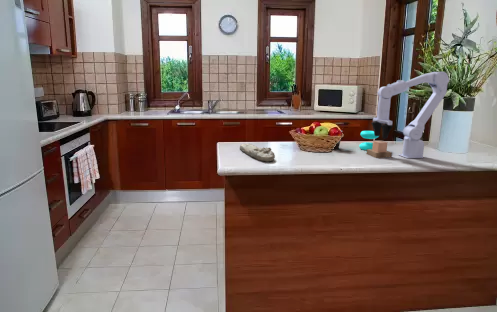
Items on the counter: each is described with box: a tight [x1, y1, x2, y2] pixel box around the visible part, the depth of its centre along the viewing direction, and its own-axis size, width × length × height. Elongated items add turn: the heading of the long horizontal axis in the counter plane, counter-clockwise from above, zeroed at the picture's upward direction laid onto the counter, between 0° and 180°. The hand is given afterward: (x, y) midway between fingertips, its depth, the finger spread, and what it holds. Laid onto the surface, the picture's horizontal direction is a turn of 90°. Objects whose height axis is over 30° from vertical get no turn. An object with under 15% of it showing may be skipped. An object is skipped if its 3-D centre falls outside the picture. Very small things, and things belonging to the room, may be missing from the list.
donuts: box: [358, 130, 380, 151], centre depth 198 cm, size 10×10×10 cm
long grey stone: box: [239, 143, 276, 162], centre depth 180 cm, size 35×5×10 cm
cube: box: [372, 140, 389, 152], centre depth 182 cm, size 5×5×5 cm
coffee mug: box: [333, 130, 344, 150], centre depth 198 cm, size 12×9×10 cm
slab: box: [365, 149, 393, 159], centre depth 183 cm, size 9×9×3 cm
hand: (380, 137), depth 181 cm, fingers open, 7 cm apart
